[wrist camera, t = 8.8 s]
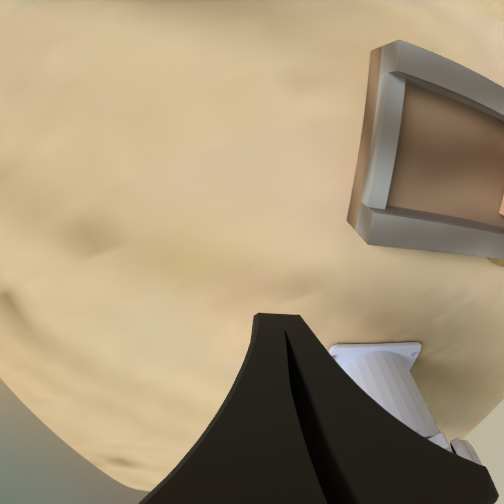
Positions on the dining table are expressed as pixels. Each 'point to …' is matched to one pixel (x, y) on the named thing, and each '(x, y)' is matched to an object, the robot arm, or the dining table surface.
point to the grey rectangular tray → (430, 156)
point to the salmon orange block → (502, 207)
